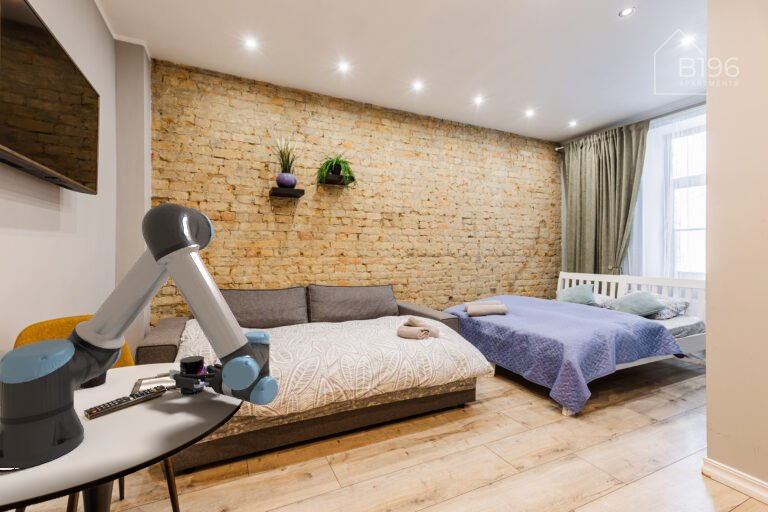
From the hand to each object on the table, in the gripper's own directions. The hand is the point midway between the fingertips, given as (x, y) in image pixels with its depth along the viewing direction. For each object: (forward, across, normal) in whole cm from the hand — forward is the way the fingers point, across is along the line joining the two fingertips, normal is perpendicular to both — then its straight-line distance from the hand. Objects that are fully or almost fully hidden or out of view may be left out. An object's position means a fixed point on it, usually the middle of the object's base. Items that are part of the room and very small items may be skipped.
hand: (182, 370), depth 111 cm
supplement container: (-5, 0, -6) cm, 8 cm away
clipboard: (+9, 0, -6) cm, 11 cm away
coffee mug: (+32, -12, -6) cm, 34 cm away
